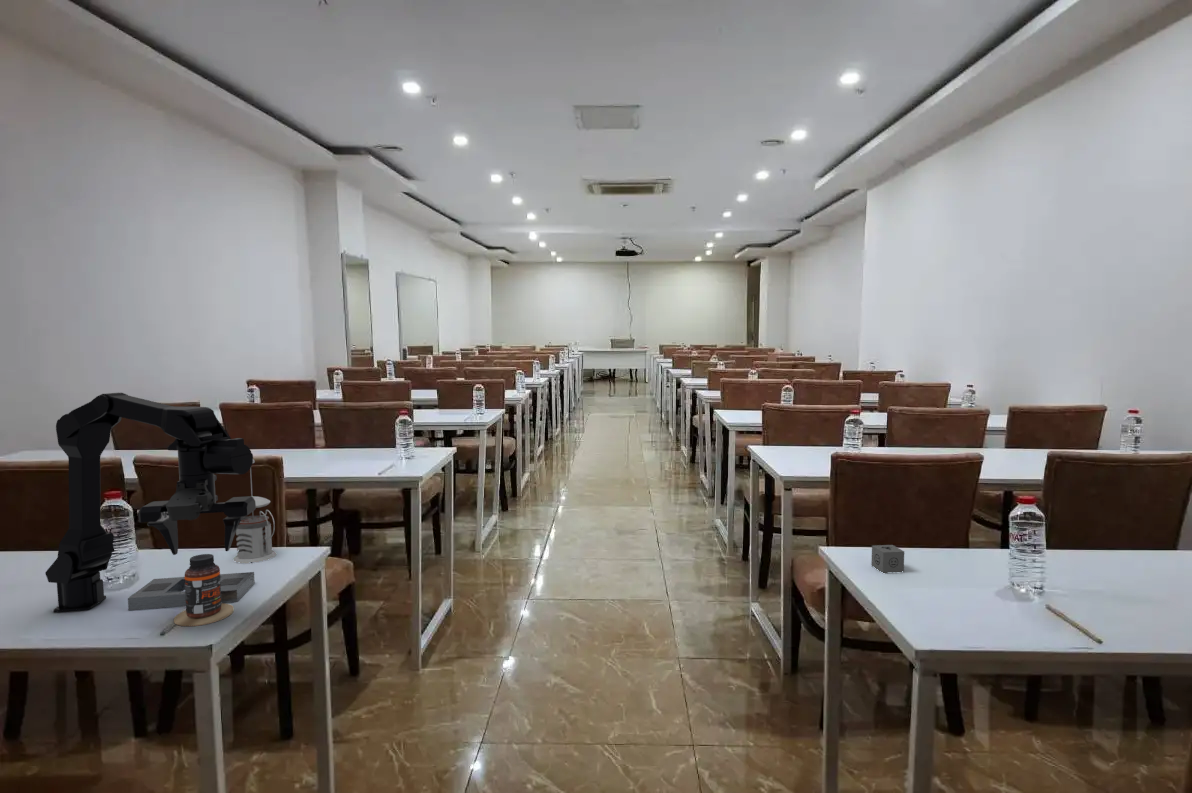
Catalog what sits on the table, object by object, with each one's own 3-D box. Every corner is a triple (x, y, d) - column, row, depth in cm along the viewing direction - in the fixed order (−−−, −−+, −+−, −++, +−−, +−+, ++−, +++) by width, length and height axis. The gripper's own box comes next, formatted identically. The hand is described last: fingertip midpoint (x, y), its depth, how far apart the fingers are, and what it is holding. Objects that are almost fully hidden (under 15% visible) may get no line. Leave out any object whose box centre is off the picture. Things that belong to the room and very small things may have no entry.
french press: (259, 548, 168) (255, 454, 166) (290, 554, 163) (286, 457, 161) (223, 560, 159) (218, 460, 157) (254, 566, 154) (249, 463, 152)
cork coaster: (164, 628, 120) (164, 626, 120) (187, 607, 130) (187, 605, 130) (223, 623, 122) (222, 621, 122) (241, 603, 132) (241, 601, 132)
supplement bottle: (205, 620, 122) (201, 562, 121) (178, 618, 124) (175, 560, 123) (229, 608, 128) (226, 552, 127) (203, 606, 129) (200, 551, 129)
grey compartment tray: (128, 610, 129) (127, 598, 128) (154, 590, 139) (153, 578, 139) (237, 601, 132) (236, 589, 132) (254, 582, 143) (254, 571, 143)
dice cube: (891, 565, 151) (892, 544, 151) (903, 573, 146) (904, 551, 146) (871, 566, 151) (871, 545, 151) (882, 573, 146) (883, 552, 146)
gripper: (120, 484, 114) (126, 570, 115) (234, 478, 118) (239, 562, 119) (150, 472, 125) (155, 551, 126) (254, 467, 129) (258, 544, 130)
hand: (201, 552), depth 125 cm, fingers open, 9 cm apart
